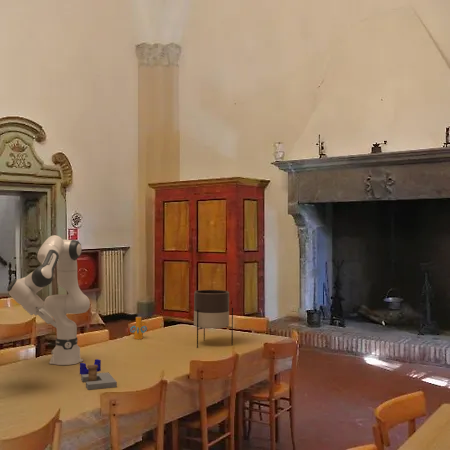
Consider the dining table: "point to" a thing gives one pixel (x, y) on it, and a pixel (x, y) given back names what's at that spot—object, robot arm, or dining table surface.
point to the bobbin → (92, 373)
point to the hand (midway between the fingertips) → (55, 325)
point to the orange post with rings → (138, 329)
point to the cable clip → (86, 371)
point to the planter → (211, 310)
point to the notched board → (100, 381)
